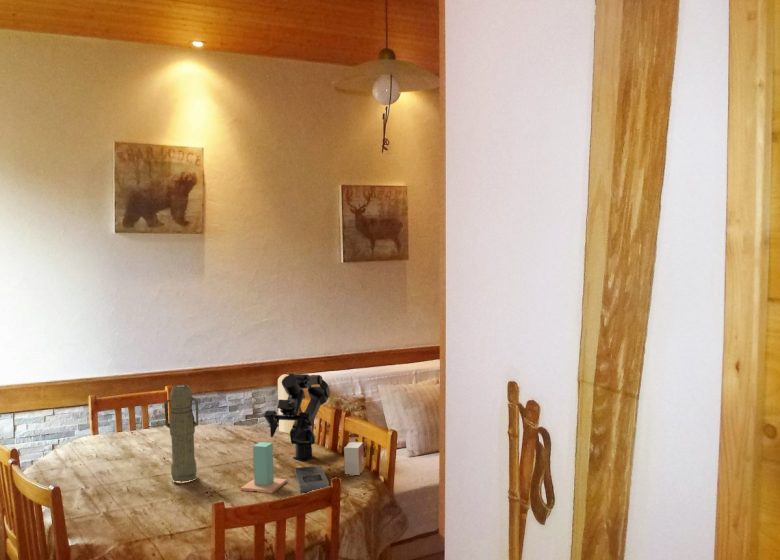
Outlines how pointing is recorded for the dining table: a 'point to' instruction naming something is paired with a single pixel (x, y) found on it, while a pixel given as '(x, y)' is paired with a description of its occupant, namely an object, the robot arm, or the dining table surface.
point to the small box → (354, 458)
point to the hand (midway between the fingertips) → (282, 437)
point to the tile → (265, 489)
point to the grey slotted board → (310, 478)
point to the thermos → (182, 432)
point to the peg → (263, 464)
